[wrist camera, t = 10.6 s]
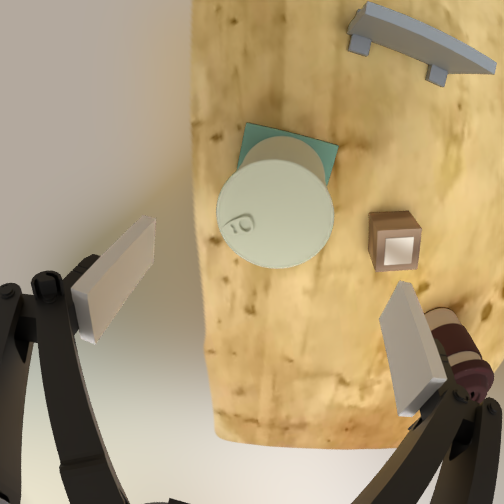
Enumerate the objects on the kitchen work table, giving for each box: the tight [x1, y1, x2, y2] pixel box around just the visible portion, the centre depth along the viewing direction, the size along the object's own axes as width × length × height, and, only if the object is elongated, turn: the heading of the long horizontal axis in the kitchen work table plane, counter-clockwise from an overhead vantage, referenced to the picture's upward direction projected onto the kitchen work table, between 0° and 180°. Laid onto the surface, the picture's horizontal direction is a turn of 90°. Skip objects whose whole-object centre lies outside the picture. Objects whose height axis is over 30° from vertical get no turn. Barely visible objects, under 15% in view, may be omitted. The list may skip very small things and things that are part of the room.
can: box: [216, 136, 334, 269], centre depth 29 cm, size 9×9×12 cm
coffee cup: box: [425, 308, 494, 403], centre depth 35 cm, size 10×10×15 cm
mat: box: [237, 123, 339, 185], centre depth 35 cm, size 10×10×1 cm
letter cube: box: [368, 211, 422, 272], centre depth 34 cm, size 5×5×5 cm
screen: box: [347, 1, 497, 87], centre depth 21 cm, size 5×12×10 cm, turn 79°
